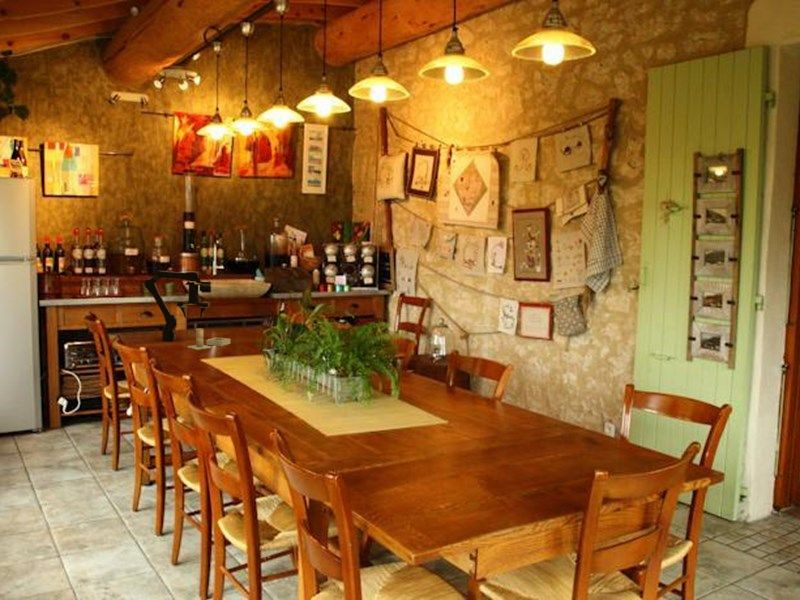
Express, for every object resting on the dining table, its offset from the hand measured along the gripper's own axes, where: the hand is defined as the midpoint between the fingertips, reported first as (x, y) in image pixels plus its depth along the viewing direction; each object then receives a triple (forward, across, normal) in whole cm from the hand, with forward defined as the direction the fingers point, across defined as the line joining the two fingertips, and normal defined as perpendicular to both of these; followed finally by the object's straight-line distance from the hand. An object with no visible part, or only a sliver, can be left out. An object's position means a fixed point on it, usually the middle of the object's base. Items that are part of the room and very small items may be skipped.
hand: (193, 318), depth 468 cm
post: (+12, -11, +26) cm, 31 cm away
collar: (+13, -18, +13) cm, 26 cm away
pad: (+13, -11, +26) cm, 31 cm away
